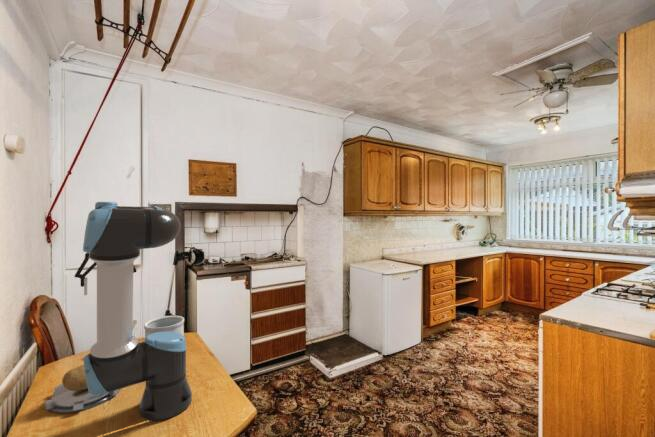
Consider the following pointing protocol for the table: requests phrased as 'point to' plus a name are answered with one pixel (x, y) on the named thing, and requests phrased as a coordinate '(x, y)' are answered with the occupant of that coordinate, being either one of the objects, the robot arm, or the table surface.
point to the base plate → (64, 411)
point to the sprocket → (73, 398)
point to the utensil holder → (165, 325)
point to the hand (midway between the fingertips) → (107, 292)
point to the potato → (75, 379)
